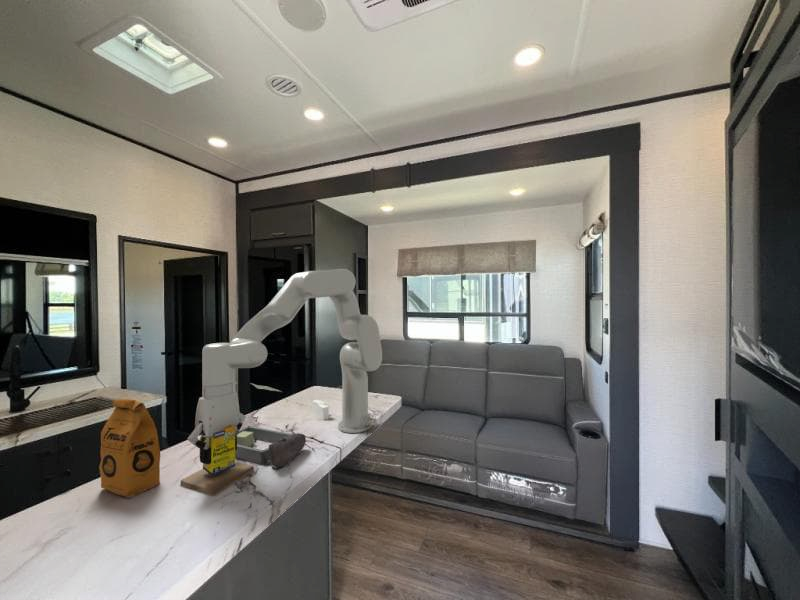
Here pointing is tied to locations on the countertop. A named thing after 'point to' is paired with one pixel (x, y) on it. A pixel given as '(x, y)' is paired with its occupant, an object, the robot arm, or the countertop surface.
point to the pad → (216, 479)
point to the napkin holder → (320, 409)
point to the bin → (258, 454)
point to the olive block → (245, 438)
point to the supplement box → (221, 451)
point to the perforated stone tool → (286, 449)
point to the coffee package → (129, 450)
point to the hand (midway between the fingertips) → (219, 455)
